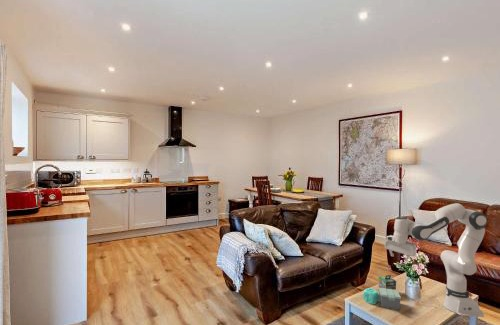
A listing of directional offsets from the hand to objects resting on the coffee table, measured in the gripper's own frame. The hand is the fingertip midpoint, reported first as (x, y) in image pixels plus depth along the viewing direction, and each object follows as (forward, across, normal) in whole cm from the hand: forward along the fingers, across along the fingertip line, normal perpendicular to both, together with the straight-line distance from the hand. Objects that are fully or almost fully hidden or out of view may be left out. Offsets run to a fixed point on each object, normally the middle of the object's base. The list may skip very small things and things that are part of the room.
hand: (399, 258), depth 194 cm
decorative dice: (+35, +14, +9) cm, 39 cm away
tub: (+35, +4, +3) cm, 35 cm away
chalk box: (+35, +12, -13) cm, 39 cm away
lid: (+28, +3, +4) cm, 28 cm away
